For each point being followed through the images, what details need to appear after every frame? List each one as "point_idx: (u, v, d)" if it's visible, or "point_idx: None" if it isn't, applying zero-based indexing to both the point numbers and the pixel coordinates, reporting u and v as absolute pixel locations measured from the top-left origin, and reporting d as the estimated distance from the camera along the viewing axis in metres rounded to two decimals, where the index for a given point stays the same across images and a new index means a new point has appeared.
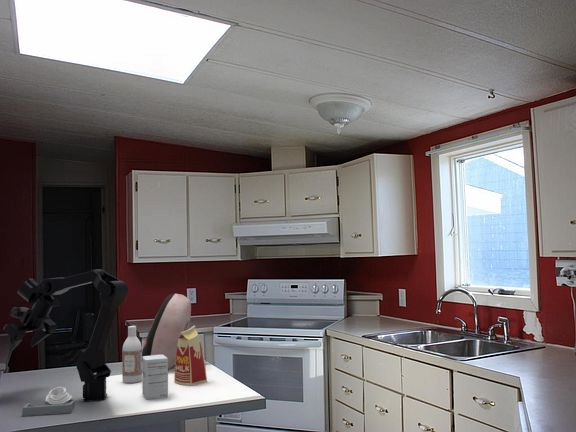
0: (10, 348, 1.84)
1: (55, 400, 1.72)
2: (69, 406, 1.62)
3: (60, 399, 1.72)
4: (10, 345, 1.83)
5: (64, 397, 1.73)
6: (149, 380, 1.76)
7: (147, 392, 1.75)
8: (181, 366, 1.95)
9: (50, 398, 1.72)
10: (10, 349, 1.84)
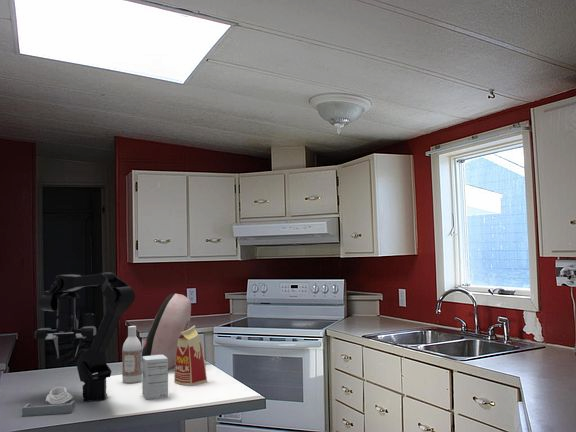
0: None
1: (56, 400, 1.72)
2: (69, 406, 1.62)
3: (61, 399, 1.73)
4: None
5: (64, 397, 1.74)
6: (149, 380, 1.76)
7: (147, 392, 1.75)
8: (181, 366, 1.95)
9: (51, 398, 1.72)
10: None
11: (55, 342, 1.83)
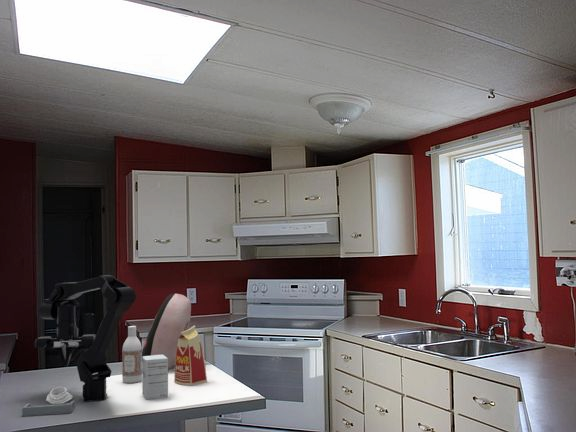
0: None
1: (56, 400, 1.72)
2: (69, 406, 1.62)
3: (61, 399, 1.73)
4: None
5: (65, 397, 1.74)
6: (149, 380, 1.76)
7: (147, 392, 1.75)
8: (181, 366, 1.95)
9: (51, 398, 1.72)
10: None
11: (63, 350, 1.83)
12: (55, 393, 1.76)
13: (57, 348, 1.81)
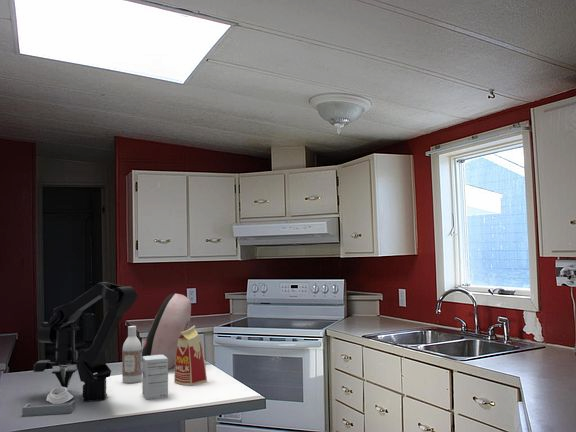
0: None
1: (56, 399, 1.72)
2: (69, 406, 1.62)
3: (61, 398, 1.73)
4: None
5: (65, 396, 1.74)
6: (149, 380, 1.76)
7: (147, 392, 1.75)
8: (181, 366, 1.95)
9: (51, 397, 1.72)
10: None
11: (62, 374, 1.81)
12: (55, 393, 1.76)
13: (56, 373, 1.80)
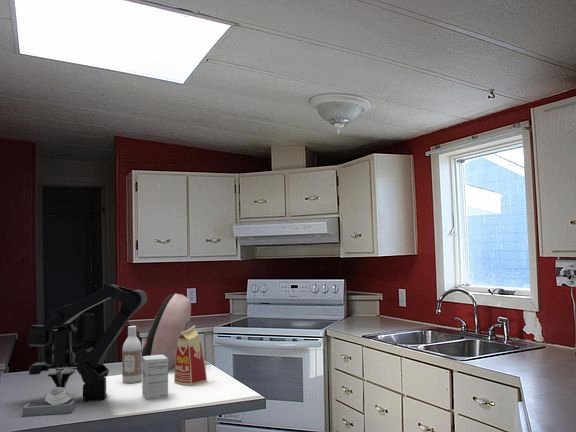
0: None
1: (55, 400, 1.71)
2: (69, 406, 1.62)
3: (60, 399, 1.72)
4: None
5: (64, 397, 1.73)
6: (149, 380, 1.76)
7: (147, 392, 1.75)
8: (181, 366, 1.95)
9: (50, 398, 1.71)
10: None
11: (58, 377, 1.77)
12: (54, 393, 1.75)
13: (52, 375, 1.75)
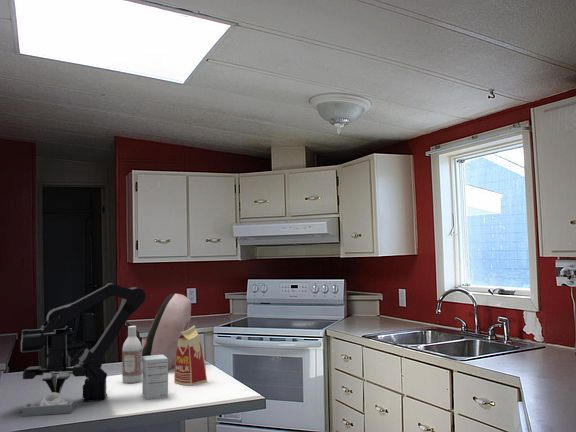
0: None
1: None
2: (69, 406, 1.62)
3: None
4: None
5: (59, 403, 1.67)
6: (149, 380, 1.76)
7: (147, 392, 1.75)
8: (181, 366, 1.95)
9: (45, 404, 1.65)
10: None
11: (53, 382, 1.71)
12: (48, 399, 1.69)
13: (47, 380, 1.69)
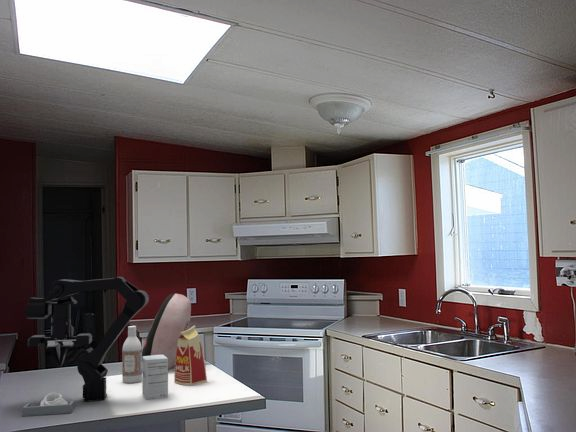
0: None
1: None
2: (69, 406, 1.62)
3: None
4: None
5: (60, 403, 1.67)
6: (149, 380, 1.76)
7: (147, 392, 1.75)
8: (181, 366, 1.95)
9: (46, 404, 1.65)
10: None
11: (57, 349, 1.76)
12: (49, 399, 1.69)
13: (51, 347, 1.74)
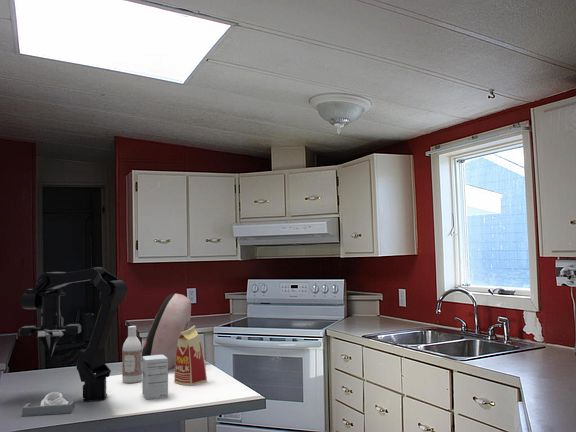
0: None
1: None
2: (69, 406, 1.62)
3: (57, 404, 1.66)
4: None
5: (61, 402, 1.67)
6: (149, 380, 1.76)
7: (147, 392, 1.75)
8: (181, 366, 1.95)
9: (46, 404, 1.65)
10: None
11: (47, 339, 1.82)
12: (49, 399, 1.69)
13: (41, 337, 1.81)
